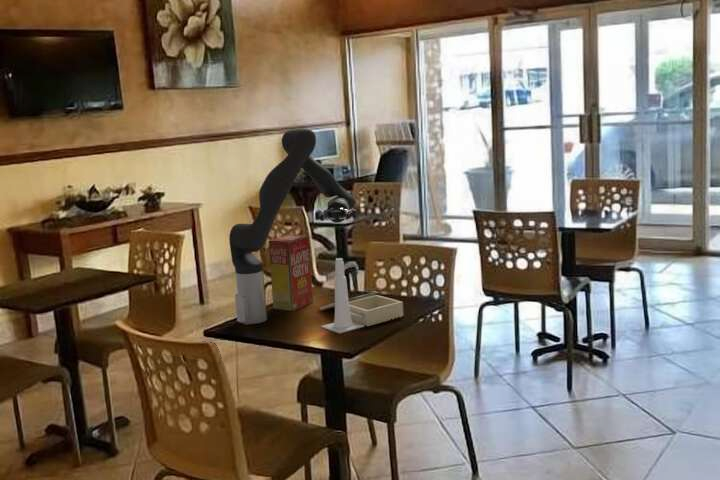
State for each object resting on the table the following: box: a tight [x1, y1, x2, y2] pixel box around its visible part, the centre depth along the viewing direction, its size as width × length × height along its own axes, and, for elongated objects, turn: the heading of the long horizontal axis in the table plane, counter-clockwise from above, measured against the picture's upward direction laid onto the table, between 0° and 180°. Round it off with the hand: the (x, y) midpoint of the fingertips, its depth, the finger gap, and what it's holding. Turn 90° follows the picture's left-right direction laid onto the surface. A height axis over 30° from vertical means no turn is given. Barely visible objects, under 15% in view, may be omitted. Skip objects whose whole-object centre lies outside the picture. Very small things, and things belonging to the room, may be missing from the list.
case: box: [348, 292, 404, 327], centre depth 259 cm, size 16×15×6 cm
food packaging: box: [268, 233, 314, 312], centre depth 278 cm, size 13×9×25 cm
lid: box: [319, 292, 374, 311], centre depth 271 cm, size 15×13×1 cm
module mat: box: [320, 321, 366, 334], centre depth 251 cm, size 10×10×1 cm
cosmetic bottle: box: [333, 257, 353, 328], centre depth 249 cm, size 6×6×22 cm
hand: (334, 217), depth 263 cm, fingers open, 8 cm apart
